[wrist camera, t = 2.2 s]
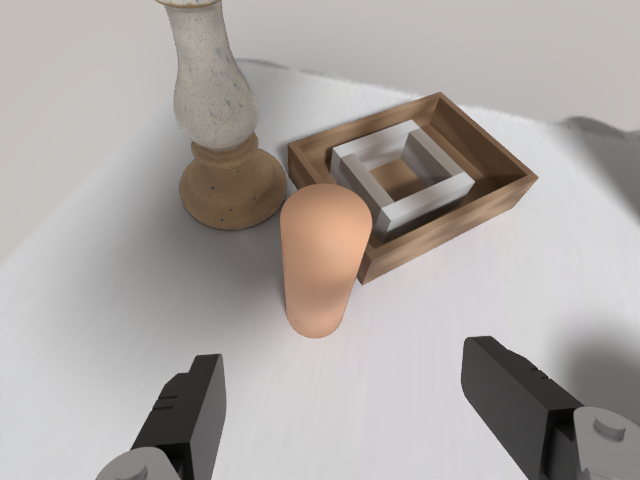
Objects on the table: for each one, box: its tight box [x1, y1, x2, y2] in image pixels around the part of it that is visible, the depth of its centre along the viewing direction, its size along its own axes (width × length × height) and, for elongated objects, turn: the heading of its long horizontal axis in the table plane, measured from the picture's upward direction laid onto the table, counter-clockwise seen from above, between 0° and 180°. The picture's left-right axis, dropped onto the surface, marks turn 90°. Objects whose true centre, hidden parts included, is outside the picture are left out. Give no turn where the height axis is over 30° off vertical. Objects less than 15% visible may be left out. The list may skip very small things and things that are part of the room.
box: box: [288, 92, 539, 285], centre depth 29 cm, size 16×12×4 cm
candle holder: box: [156, 0, 287, 230], centre depth 21 cm, size 9×9×20 cm
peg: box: [280, 184, 372, 338], centre depth 20 cm, size 4×4×11 cm
